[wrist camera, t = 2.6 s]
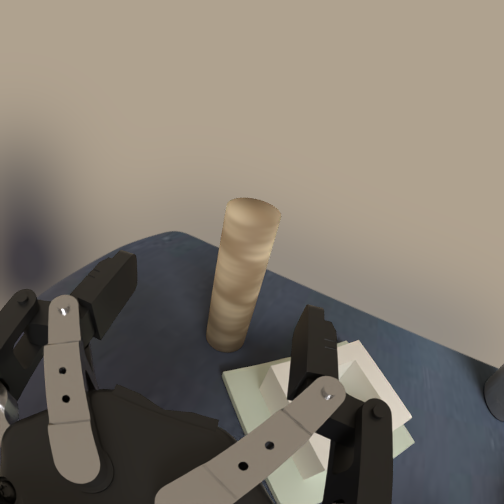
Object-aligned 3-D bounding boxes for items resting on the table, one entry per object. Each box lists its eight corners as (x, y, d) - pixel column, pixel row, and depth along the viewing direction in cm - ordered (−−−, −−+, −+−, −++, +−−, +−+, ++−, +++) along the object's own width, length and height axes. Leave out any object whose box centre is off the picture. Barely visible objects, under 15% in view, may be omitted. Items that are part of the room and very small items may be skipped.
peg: (237, 320, 34) (267, 198, 25) (249, 348, 31) (290, 223, 22) (201, 324, 32) (220, 197, 23) (212, 355, 29) (236, 224, 20)
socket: (343, 345, 33) (362, 316, 30) (409, 445, 22) (441, 424, 19) (221, 376, 27) (229, 346, 24) (283, 517, 15) (307, 514, 12)
